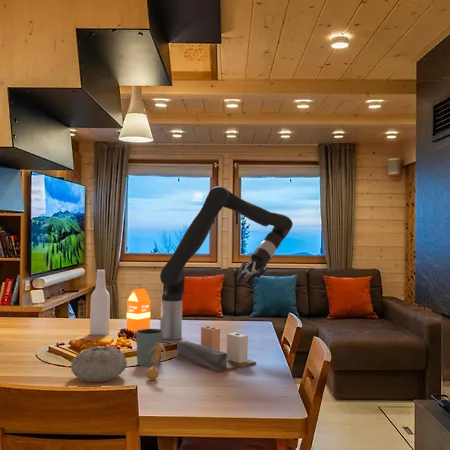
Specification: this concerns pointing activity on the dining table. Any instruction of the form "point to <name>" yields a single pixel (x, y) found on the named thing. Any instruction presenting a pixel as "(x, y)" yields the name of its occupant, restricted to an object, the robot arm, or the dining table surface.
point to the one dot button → (237, 347)
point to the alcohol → (100, 307)
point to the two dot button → (210, 337)
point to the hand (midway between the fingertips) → (242, 282)
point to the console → (208, 357)
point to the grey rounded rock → (98, 364)
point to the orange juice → (138, 310)
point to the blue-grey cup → (148, 346)
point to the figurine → (152, 371)
